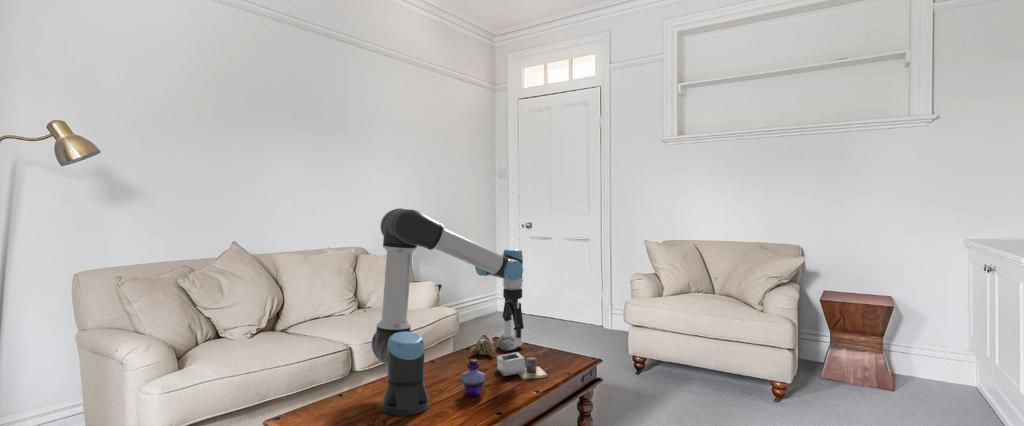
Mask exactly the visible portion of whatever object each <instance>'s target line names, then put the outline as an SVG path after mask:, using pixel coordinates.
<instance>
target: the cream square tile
mask: <svg viewBox="0 0 1024 426" xmlns="http://www.w3.org/2000/svg"><path fill="white" fill-rule="evenodd" d="M537 360H538V359H537V358H536V357H534V356H533V357H532V356H531V357H526V361H525V368H526V372H522V373H517V374H518V375H519V377H520V378H521V379H522V380H530V379H542V378H548V376H549V375H548V374H547V373H546V371H544V370H543V369H542V368H541V367H540V366H537V363H538V362H537Z"/></svg>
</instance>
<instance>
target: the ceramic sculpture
mask: <svg viewBox="0 0 1024 426" xmlns="http://www.w3.org/2000/svg"><path fill="white" fill-rule="evenodd" d="M469 352H470V353H469V354H470V355H472V356H473V355H474V356H475V355H477V354H479V355H480V356H481V355H482V356H486V355H487V356H491V357H492V356H493V355H494V354H495V342H494V340H493V338H492V336H490V335H489V334H488V333H487V334H483V335H481V336H480V338H479V339H478V340H477V341H476V343H475V345H474V346H471V348H470V351H469Z"/></svg>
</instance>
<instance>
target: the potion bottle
mask: <svg viewBox="0 0 1024 426" xmlns="http://www.w3.org/2000/svg"><path fill="white" fill-rule="evenodd" d="M467 369H468V370H467V371H464V372H462V373H461V380H462V385H463V386H464V391H465V396H467V397H470V398H475V397H479V396H481V392H482V391H481V390H482V387H484V386H485V376H486V375H485V372H482V371H479V370H478V369H480V363H479V360H478V359H476V358H473V359H468V362H467Z"/></svg>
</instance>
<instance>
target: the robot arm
mask: <svg viewBox="0 0 1024 426" xmlns="http://www.w3.org/2000/svg"><path fill="white" fill-rule="evenodd" d="M380 232H381V234H382V236H383V241H382V242H383V243H382V247H383V248H384V249H385V251H386V259H385V272H384V273H385V274H384V284H383V286H384V287H383V301H382V313H381V320H380V321H379V322H378V323H377V324H376V328H375V329H376V331H375V332H374V334H373V335H372V338H371V349H372V352H373V354H374V356H375V358H376V359H378V360H379V361H380V362H382V363H383V364H384V365H385V366H387V385H386V387H385V390H384V391H385V392H384V394H383V397H382V400H381V410H382V412H383V413H385V414H387V415H390V416H391V415H392V416H395V417H405V416H406V417H407V416H415V415H418V414H421V413H424V412H426V411H427V410H428V408H429V405H430V398H429V395H428V392H427V388H426V386H425V381H424V380H425V351H426V346H425V339H424V338H423V336H422V335H420V334H418V333H416V332H412V331H411V328H412V327H411V324H410V323H409V322H408V308H409V296H410V282H411V281H410V280H411V269H412V257H413V255H412V254H413V252H414V251H415V250H417V249H418V247H421V248H425V249H427V250H429V251H433V250H434V249H435V250H437V251H439V252H442V253H444V254H446V255H448V256H451V257H453V258H456V259H457V260H458V259H459V260H460V261H462V262H465V263H467V264H469V265H471V266H474V269H475V272H476V274H477V275H478V276H480V277H481V276H484V277H487V276H493V277H495V278H499V279H502V283H503V284H502V285H503V291H502V292H503V293H502V294H503V295H502V296H503V298H504V305H503V306H504V307H503V311H502V316H501V317H502V319H503V321H504V322H503V325H504V326H503V329H504V330H503V334H504V337H511V336H512V320H513V325H514V327H513V336H514V346H518V347H521V346H522V345H521V341H522V330H523V329H525V328H524V327H525V326H524V321H523V319H524V318H523V311H522V303H521V302H519V300H520V299H522V298H523V289H522V288H523V282H524V279H523V273H524V267H523V266H524V265H523V261H524V260H523V251H522V250H521V249H519V248H506V249H504V250H503V253H502V254H501V253H499V252H496V251H494V250H492V249H489V248H488V247H485V246H484V245H481V244H480V243H477V242H475V241H473V240H470V239H468V238H466V237H463V236H462V235H459V234H458V233H455V232H453V231H451V230H449V229H447V228H445V227H444V225H443V223H440V222H438V221H437V220H435V219H433V218H431V217H429V216H428V215H426V214H424V213H422V212H420V211H419V210H415V209H410V208H409V209H406V208H395V209H391V210H389V211H388V212H386V213H385V214H384V215H383V217H382V218H381V221H380Z"/></svg>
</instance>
